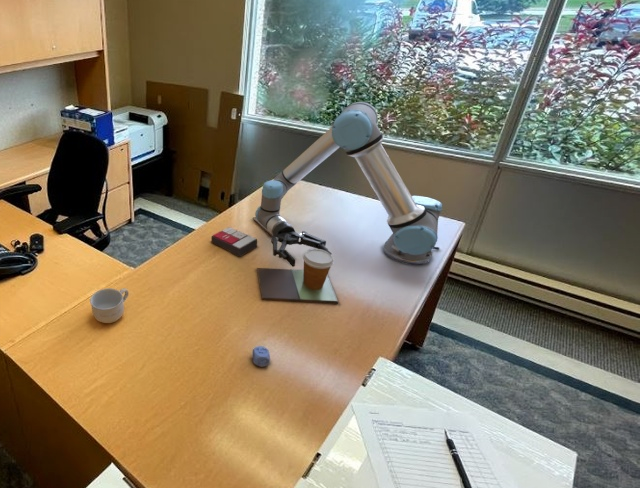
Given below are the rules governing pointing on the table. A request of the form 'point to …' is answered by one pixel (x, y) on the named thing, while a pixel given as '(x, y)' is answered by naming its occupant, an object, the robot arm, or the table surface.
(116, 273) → the table surface
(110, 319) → the teacup
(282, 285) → the board
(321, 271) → the disposable coffee cup
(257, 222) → the wooden plank
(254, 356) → the decorative dice
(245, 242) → the red and grey box
